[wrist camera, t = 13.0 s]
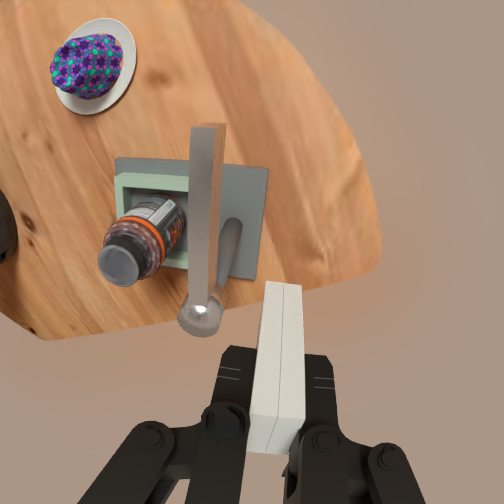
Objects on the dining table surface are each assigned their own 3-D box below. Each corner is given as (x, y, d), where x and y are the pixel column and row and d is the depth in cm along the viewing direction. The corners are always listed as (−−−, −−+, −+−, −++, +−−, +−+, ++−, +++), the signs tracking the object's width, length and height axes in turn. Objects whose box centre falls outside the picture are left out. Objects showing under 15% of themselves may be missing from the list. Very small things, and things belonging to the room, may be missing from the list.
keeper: (225, 312, 23) (218, 340, 20) (189, 306, 23) (178, 333, 20) (240, 124, 16) (231, 129, 13) (192, 121, 16) (175, 126, 14)
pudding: (64, 27, 23) (37, 23, 19) (146, 13, 23) (124, 3, 19) (54, 115, 29) (27, 121, 25) (133, 114, 29) (109, 118, 24)
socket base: (126, 256, 37) (73, 320, 26) (119, 157, 31) (44, 194, 20) (255, 275, 37) (242, 357, 25) (268, 168, 31) (258, 215, 19)
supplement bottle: (184, 246, 35) (148, 306, 25) (137, 234, 34) (89, 287, 25) (191, 197, 32) (151, 245, 22) (141, 186, 32) (85, 228, 22)
